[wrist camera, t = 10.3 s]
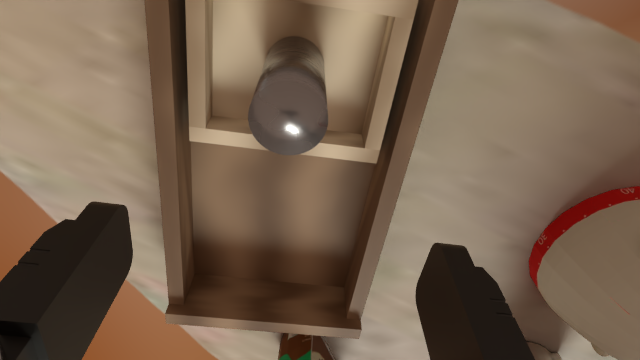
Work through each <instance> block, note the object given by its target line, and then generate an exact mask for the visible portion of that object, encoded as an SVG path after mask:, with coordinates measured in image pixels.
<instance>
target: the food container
mask: <svg viewBox="0 0 640 360" xmlns="http://www.w3.org/2000/svg"><path fill="white" fill-rule="evenodd" d="M278 360H335V358H334V356H333V354H332V353H331V351H330V349H329V347H328V345H327V343H326V341H325V339H324V337H323V336H316V335H304V334H291V333H284V334H283V337H282V340H281V343H280V349H279V356H278Z"/></svg>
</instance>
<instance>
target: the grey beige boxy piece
mask: <svg viewBox="0 0 640 360" xmlns="http://www.w3.org/2000/svg"><path fill="white" fill-rule="evenodd" d="M417 4H418V0H185V9H186V42H187V75H188V108H189V141H194V142H202V143H210V144H218V145H227V146H235V147H243V148H251V149H260V150H268V151H272V152H274V153H277V154H281V155H298V154H301V155H309V156H318V157H326V158H334V159H342V160H351V161H359V162H367V163H375V164H377V160H378V156H379V152H380V148H381V144H382V140H383V136H384V133H385V129H386V125H387V121H388V117H389V113H390V109H391V105H392V101H393V98H394V94H395V90H396V86H397V82H398V78H399V74H400V70H401V67H402V63H403V59H404V55H405V51H406V47H407V43H408V39H409V35H410V32H411V28H412V24H413V20H414V16H415V12H416V8H417Z"/></svg>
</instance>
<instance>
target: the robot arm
mask: <svg viewBox="0 0 640 360" xmlns="http://www.w3.org/2000/svg"><path fill="white" fill-rule="evenodd" d="M132 257H133V248H132V240H131V232H130V224H129V216H128V210H127V208H126V206H125V205H119V204H111V203H102V202H91V203H89V204H88V205H87V206H86V208H85V209H84V210H83V211H82V213H81V214H80V215H79V216H78V217H77V219H76V220H68V219H65V220H64V221H62V222H60V223H59V224H57V225H55V226H54V227H52V228H50V229H49V230H47V231H45V232H44V233H43V234H42V236H41V237H40V238H39V239H38V240H37V241H36V242H35V243H34V244H33V246H32V247H31V248H30V251H29V252H26V254H25V255H24V256H23V257H22V258H21V259H20V260H19V261H18V265H15V266H14V267H13V268H12V269H11V270H10V271H9V273H8V274H7V275H6V276H5V277H4V278H3V279H2V281H1V282H0V360H82V358H83V356H84V354H85V352H86V350H87V349H88V346H89V345H90V343H91V341H92V339H93V338H94V336H95V334H96V332H97V330H98V328H99V327H100V324H101V323H102V321H103V319H104V317H105V315H106V314H107V312H108V310H109V308H110V306H111V304H112V302H113V301H114V299H115V297H116V295H117V293H118V291H119V289H120V288H121V286H122V284H123V282H124V280H125V279H126V277H127V275H128V273H129V270H130V267H131V263H132ZM416 305H417V309H418V313H419V317H420V321H421V325H422V329H423V332H424V336H425V340H426V344H427V348H428V352H429V356H430V360H562V359H561V357H560V355H559V354H558V353H551V352H549V351H548V350H547V349H546V348H544V347H543V346H541V345H539V344H535V343H531V342H526V340H525V338H524V336H523V334H522V332H521V330H520V328H519V326H518V324H517V322H516V320H515V318H513V317H512V312H511V310H510V308H509V306H508V304H507V303H505V298H504V296H503V294H502V292H501V290H500V288H499V286H498V284H497V282H496V281H495V280H494V279H493V278H492V277H491V276H490V275H489V274H488V273H487V272H486V271H485V270H484V269H483V268H482V267H475V266H474V264H473V261H472V259H471V257H470V255H469V253H468V251H467V249H466V248H465V247H464V246H461V245H452V244H443V243H435V244H434V245H433V246H432V248H431V250H430V252H429V255H428V257H427V260H426V262H425V265H424V268H423V270H422V273H421V275H420V278H419V280H418V283H417V287H416Z"/></svg>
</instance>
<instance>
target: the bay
mask: <svg viewBox="0 0 640 360" xmlns="http://www.w3.org/2000/svg"><path fill="white" fill-rule="evenodd" d="M457 3H458V0H418V4H417V8H416V12H415V16H414V20H413V24H412V28H411V32H410V35H409V39H408V43H407V47H406V51H405V55H404V59H403V63H402V67H401V70H400V74H399V78H398V82H397V86H396V90H395V94H394V98H393V101H392V105H391V109H390V113H389V117H388V121H387V125H386V129H385V133H384V136H383V140H382V144H381V148H380V152H379V156H378V160H377V164H375V163H367V162H359V161H351V160H342V159H334V158H326V157H318V156H309V155H301V154H298V155H281V154H277V153H274V152H272V151H268V150H260V149H251V148H243V147H235V146H227V145H218V144H210V143H202V142H194V141H189V108H188V75H187V42H186V9H185V0H145V12H146V24H147V36H148V49H149V61H150V74H151V86H152V99H153V111H154V124H155V136H156V149H157V161H158V174H159V186H160V198H161V211H162V223H163V236H164V248H165V261H166V273H167V286H168V298H169V305H168V308H167V310H166V313H165V317H166V323H167V324H179V325H192V326H204V327H217V328H229V329H242V330H254V331H267V332H279V333H291V334H304V335H316V336H329V337H341V338H354V339H359V337H360V333H361V330H362V329H361V321H360V320H361V316H362V313H363V310H364V307H365V303H366V300H367V297H368V294H369V290H370V287H371V284H372V281H373V277H374V274H375V271H376V267H377V264H378V261H379V258H380V254H381V251H382V248H383V245H384V241H385V238H386V235H387V232H388V228H389V225H390V222H391V219H392V215H393V212H394V209H395V206H396V202H397V199H398V196H399V192H400V189H401V186H402V183H403V179H404V176H405V173H406V170H407V166H408V163H409V160H410V157H411V153H412V150H413V147H414V144H415V140H416V137H417V134H418V131H419V127H420V124H421V121H422V117H423V114H424V111H425V108H426V104H427V101H428V98H429V95H430V91H431V88H432V85H433V82H434V78H435V75H436V72H437V69H438V65H439V62H440V59H441V56H442V52H443V49H444V46H445V42H446V39H447V36H448V33H449V29H450V26H451V23H452V20H453V16H454V13H455V10H456V7H457Z"/></svg>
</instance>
